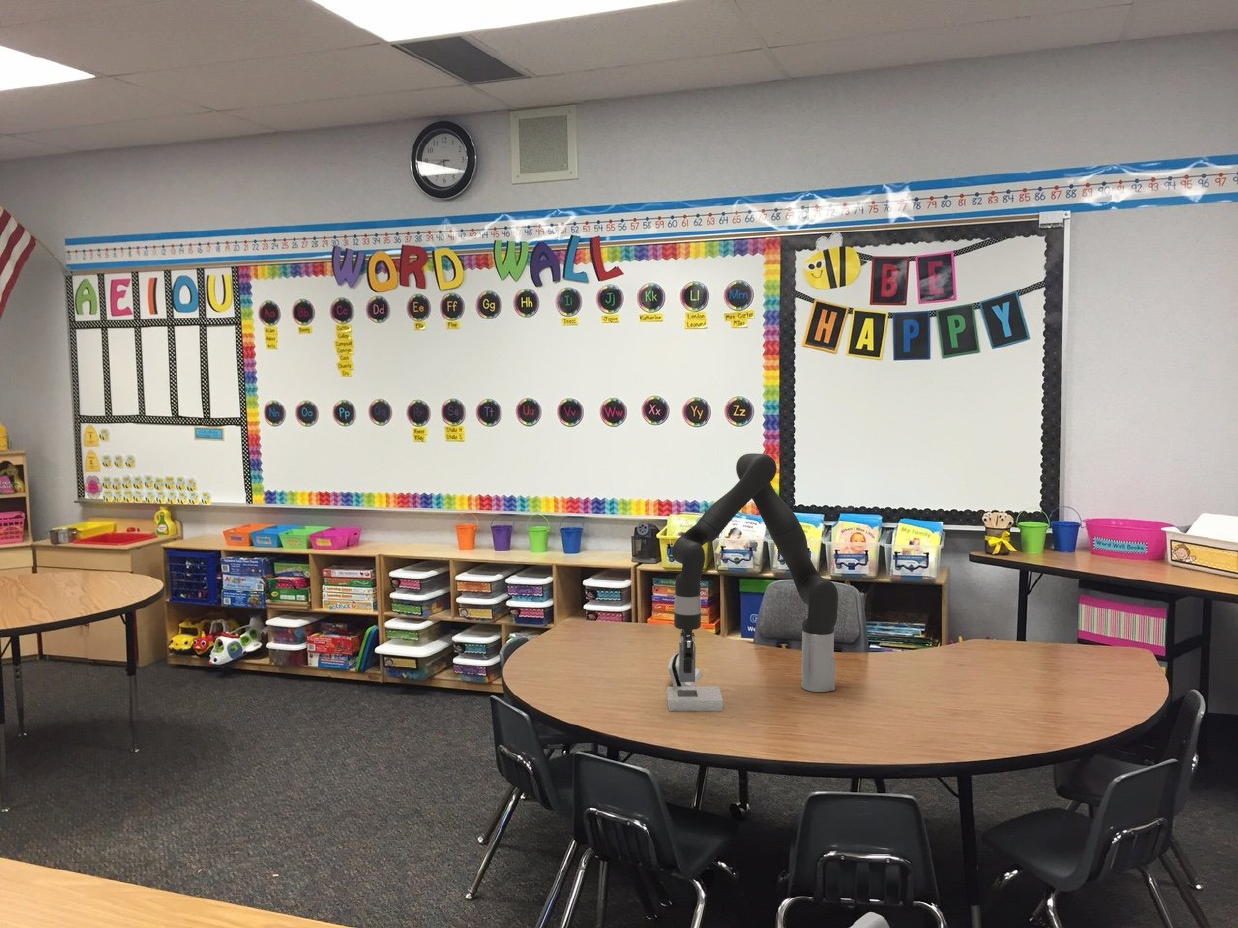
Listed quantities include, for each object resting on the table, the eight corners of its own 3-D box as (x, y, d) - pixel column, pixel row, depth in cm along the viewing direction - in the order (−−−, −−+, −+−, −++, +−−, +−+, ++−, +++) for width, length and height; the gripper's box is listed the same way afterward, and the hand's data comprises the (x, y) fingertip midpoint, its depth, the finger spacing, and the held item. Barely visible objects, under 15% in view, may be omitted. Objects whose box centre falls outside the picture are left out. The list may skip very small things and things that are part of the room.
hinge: (691, 691, 277) (680, 659, 277) (676, 695, 279) (665, 663, 279) (702, 674, 293) (691, 644, 293) (688, 678, 295) (677, 648, 295)
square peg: (694, 677, 269) (694, 642, 268) (695, 682, 264) (695, 647, 263) (678, 677, 269) (678, 642, 268) (679, 681, 264) (679, 646, 263)
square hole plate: (718, 696, 273) (718, 686, 273) (723, 710, 261) (723, 700, 261) (667, 696, 273) (667, 686, 273) (668, 710, 261) (668, 700, 261)
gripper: (703, 616, 258) (702, 678, 259) (699, 604, 272) (698, 662, 273) (675, 616, 258) (675, 677, 259) (673, 604, 272) (672, 662, 273)
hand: (687, 669), depth 266 cm, fingers closed on square peg, 4 cm apart
